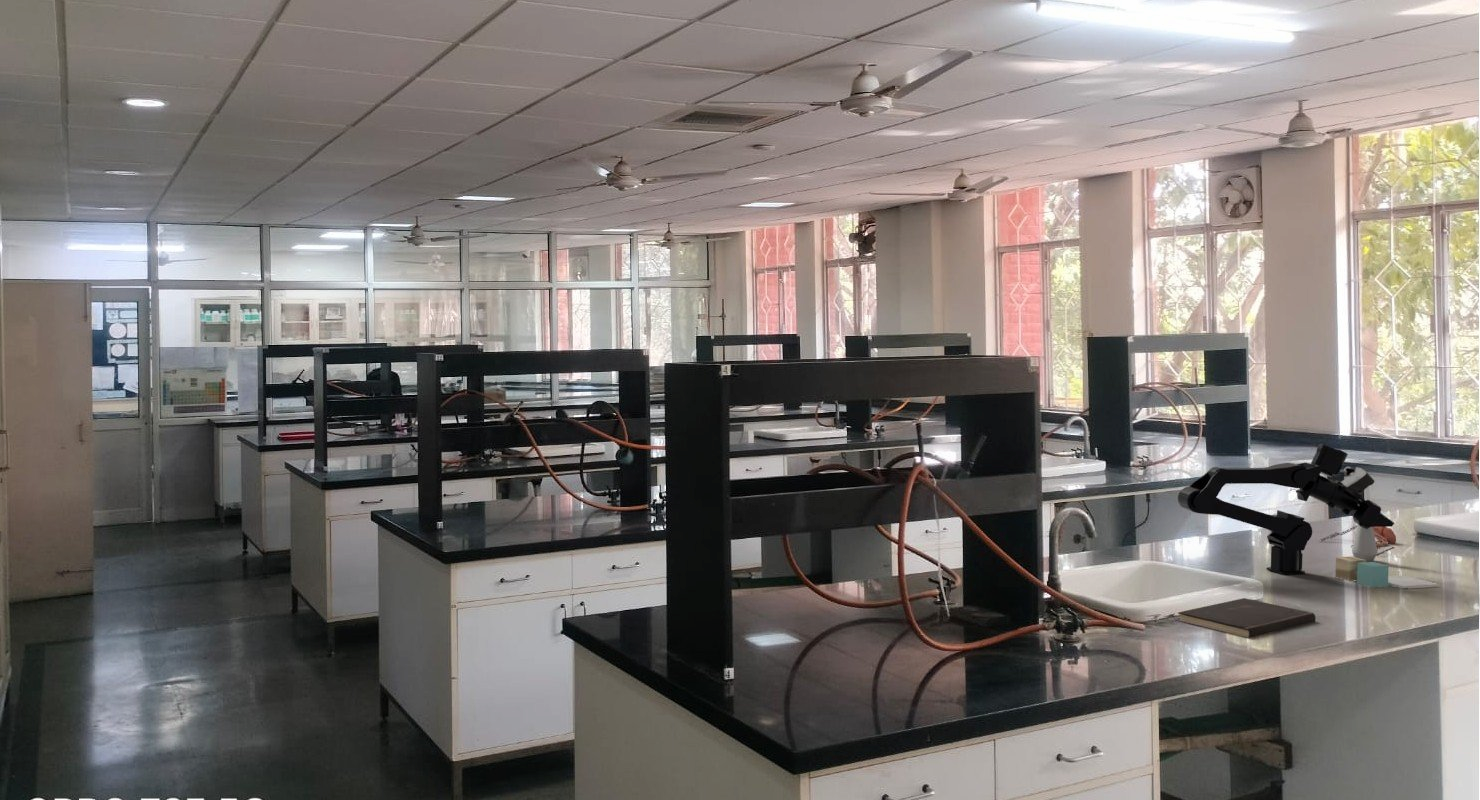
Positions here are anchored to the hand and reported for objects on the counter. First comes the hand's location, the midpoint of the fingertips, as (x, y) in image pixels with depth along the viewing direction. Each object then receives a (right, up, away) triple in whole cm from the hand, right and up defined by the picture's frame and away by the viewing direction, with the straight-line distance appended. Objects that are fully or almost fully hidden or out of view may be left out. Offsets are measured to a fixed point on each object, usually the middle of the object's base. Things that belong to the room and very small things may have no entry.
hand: (1384, 517), depth 277 cm
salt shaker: (+3, -13, +15) cm, 20 cm away
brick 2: (-11, -14, -14) cm, 23 cm away
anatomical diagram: (+15, -13, +34) cm, 39 cm away
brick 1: (-12, -14, -7) cm, 20 cm away
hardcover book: (-56, -17, -47) cm, 75 cm away
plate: (-2, -14, -12) cm, 19 cm away
